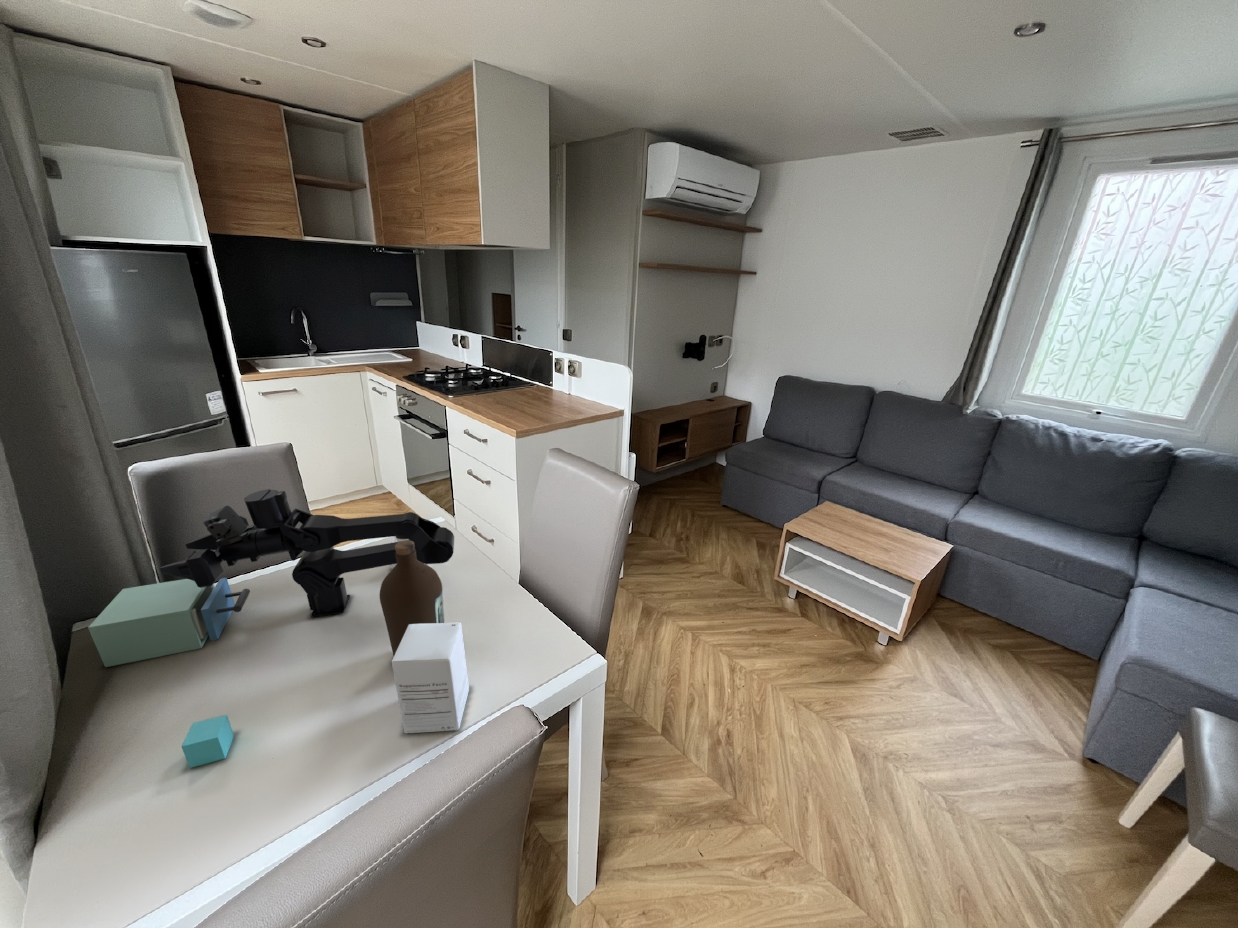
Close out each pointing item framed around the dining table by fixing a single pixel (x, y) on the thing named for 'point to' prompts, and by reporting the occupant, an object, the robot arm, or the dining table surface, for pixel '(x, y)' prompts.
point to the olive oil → (410, 594)
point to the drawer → (216, 608)
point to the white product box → (431, 677)
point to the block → (208, 741)
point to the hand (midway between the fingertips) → (174, 557)
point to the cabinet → (148, 623)
